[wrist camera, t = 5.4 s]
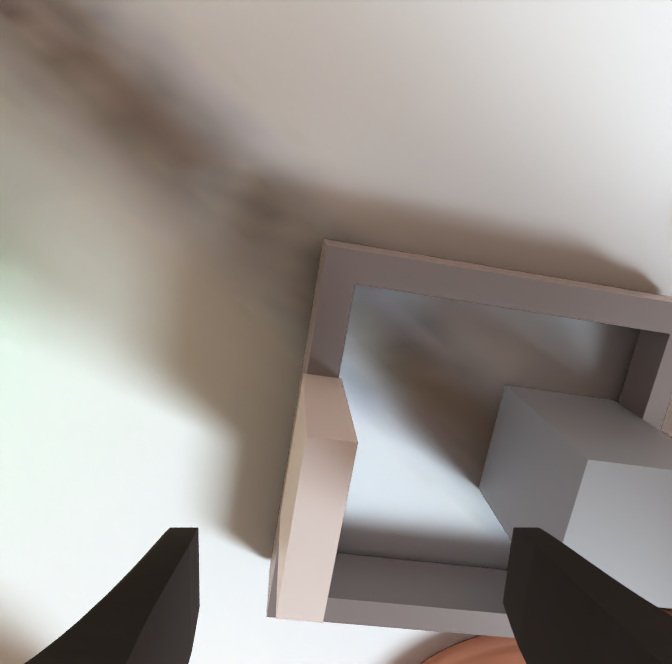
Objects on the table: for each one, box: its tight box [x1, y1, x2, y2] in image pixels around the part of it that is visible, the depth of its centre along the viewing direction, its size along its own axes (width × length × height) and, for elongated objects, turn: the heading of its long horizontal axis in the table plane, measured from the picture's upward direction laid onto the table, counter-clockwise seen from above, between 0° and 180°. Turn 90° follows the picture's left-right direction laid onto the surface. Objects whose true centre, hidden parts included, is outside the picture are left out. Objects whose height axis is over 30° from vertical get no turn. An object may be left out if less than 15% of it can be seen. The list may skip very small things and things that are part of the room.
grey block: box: [478, 385, 672, 609], centre depth 18 cm, size 4×4×6 cm
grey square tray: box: [267, 239, 672, 638], centre depth 17 cm, size 13×13×7 cm
